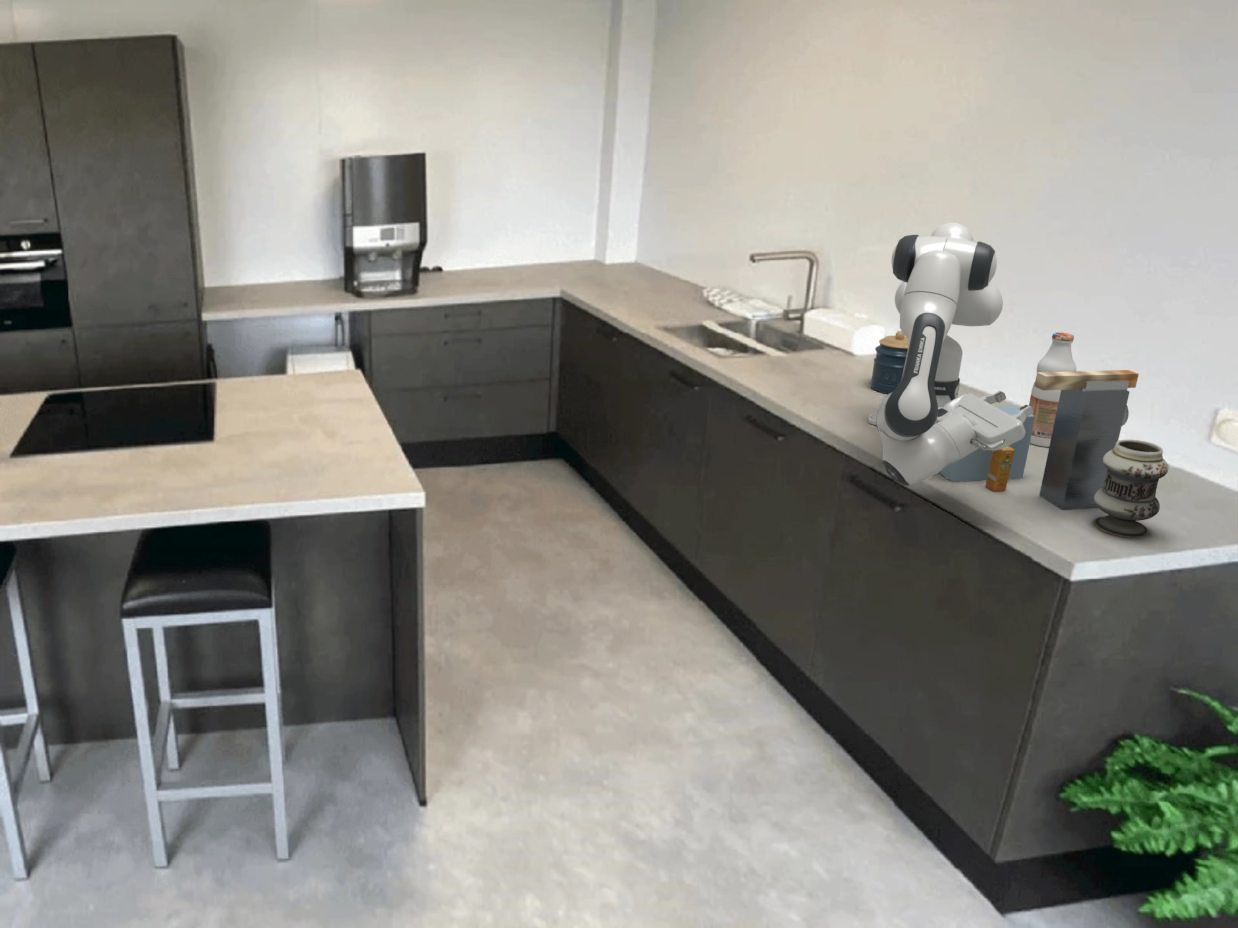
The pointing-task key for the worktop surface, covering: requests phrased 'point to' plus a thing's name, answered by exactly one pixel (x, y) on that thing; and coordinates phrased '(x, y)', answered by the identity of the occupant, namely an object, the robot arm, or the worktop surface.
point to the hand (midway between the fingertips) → (1016, 401)
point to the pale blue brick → (979, 460)
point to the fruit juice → (1049, 399)
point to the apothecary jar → (1130, 487)
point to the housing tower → (1083, 442)
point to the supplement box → (1000, 469)
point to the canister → (889, 363)
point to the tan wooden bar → (1081, 379)
